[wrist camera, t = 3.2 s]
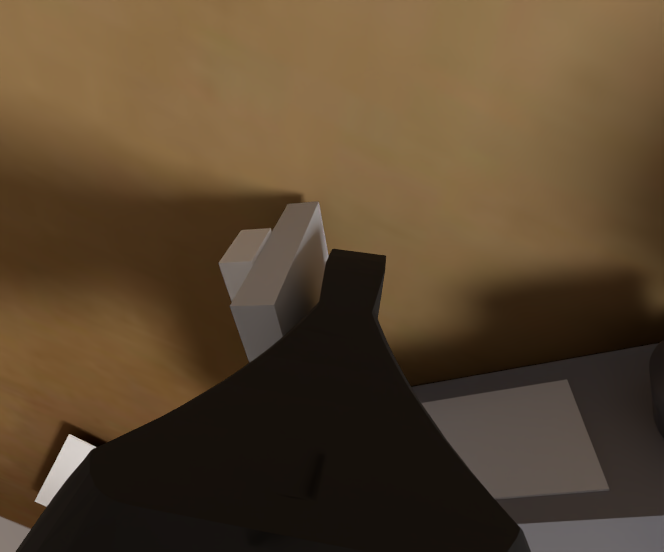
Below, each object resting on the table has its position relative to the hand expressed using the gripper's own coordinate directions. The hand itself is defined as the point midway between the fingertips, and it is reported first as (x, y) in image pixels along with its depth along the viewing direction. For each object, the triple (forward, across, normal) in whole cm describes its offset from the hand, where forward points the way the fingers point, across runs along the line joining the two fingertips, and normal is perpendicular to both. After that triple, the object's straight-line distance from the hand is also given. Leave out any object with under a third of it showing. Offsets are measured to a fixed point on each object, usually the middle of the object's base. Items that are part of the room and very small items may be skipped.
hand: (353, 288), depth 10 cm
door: (+2, +1, +2) cm, 3 cm away
